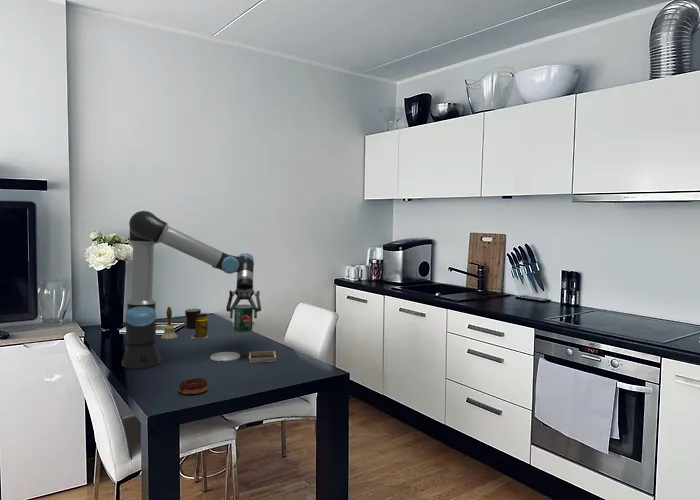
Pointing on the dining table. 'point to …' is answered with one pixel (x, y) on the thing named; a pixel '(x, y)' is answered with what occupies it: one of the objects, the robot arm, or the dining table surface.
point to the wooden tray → (259, 353)
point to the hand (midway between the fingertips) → (243, 323)
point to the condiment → (201, 326)
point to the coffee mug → (191, 317)
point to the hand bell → (169, 327)
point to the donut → (193, 386)
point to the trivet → (225, 356)
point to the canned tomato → (243, 318)
